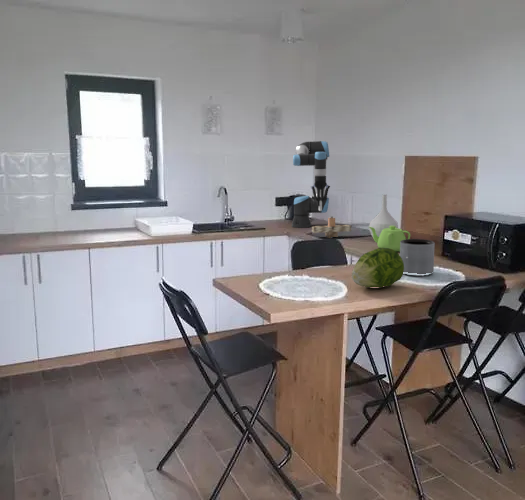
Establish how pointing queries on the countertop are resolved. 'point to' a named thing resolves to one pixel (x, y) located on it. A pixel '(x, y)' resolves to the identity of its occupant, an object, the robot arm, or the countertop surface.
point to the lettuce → (378, 268)
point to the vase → (382, 219)
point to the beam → (331, 230)
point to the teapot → (390, 237)
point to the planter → (417, 255)
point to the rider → (331, 222)
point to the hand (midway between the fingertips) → (320, 210)
